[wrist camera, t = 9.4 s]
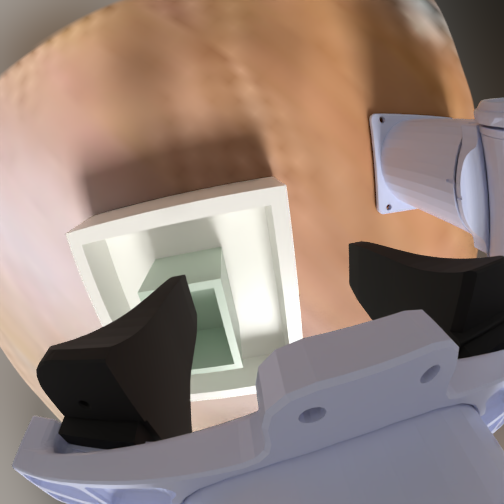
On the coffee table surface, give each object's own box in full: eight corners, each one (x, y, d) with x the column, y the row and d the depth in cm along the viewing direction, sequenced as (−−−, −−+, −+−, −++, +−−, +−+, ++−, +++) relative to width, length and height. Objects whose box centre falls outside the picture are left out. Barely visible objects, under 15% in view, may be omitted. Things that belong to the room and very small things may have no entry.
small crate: (221, 246, 20) (220, 278, 15) (239, 325, 23) (243, 367, 18) (155, 259, 20) (137, 292, 15) (180, 334, 23) (173, 376, 18)
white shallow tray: (273, 176, 20) (286, 185, 15) (294, 349, 26) (305, 383, 21) (93, 215, 19) (65, 233, 15) (154, 370, 25) (146, 403, 21)
